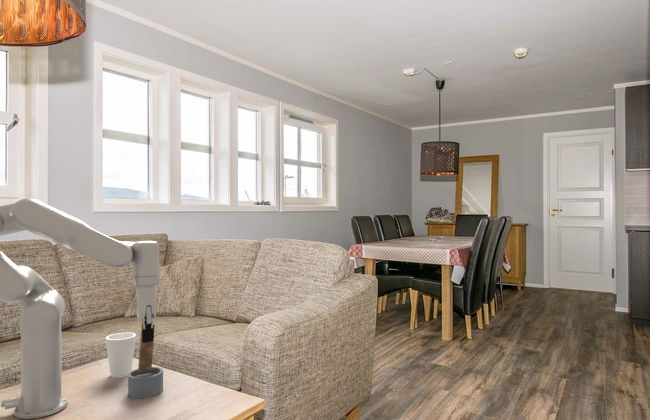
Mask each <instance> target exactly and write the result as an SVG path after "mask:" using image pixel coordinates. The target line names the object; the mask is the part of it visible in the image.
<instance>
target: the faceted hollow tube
mask: <svg viewBox="0 0 650 420" xmlns="http://www.w3.org/2000/svg"><path fill="white" fill-rule="evenodd" d="M155 372H156V373H157V374H156V375H153V376H149V377H133V376H136V375H143V374H149V373H155ZM163 391H164V370H163V368H162V367H159V366H152V370H150V371H140V372H139V370H138V368H136V369H132V370H131V372H130V373H128V376H127V396H128V398H132V399H133V400H134V399H135V400H136V399H137V400H138V399H140V400H142V399H149V398H152V397H156V396H158V395H160V394H161V393H162V392H163Z"/></svg>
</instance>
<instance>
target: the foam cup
mask: <svg viewBox="0 0 650 420" xmlns="http://www.w3.org/2000/svg"><path fill="white" fill-rule="evenodd" d="M136 342H137V334H136V333H134V332H117V333H112V334H110V335H107V336H105V347H106V352H107V360H108V367H109V373H110V377H111V378H115V379H118V378H125V377H128V373H130V372H131V371H132V370H133V369H132V368H133V362H134V356H135V347H136Z"/></svg>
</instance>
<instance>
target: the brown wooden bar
mask: <svg viewBox="0 0 650 420" xmlns="http://www.w3.org/2000/svg"><path fill="white" fill-rule="evenodd" d="M155 327H156V324H155V322H153V328H154V329H155ZM142 329H143V323H142V322H141V328H140V341H139V343H140V344H139V357H138V368H137V369H138V370H139V372H140V371H150V370H152V367H153V353H154V341H152V342H145V343H143V342H142Z"/></svg>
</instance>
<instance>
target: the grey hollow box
mask: <svg viewBox="0 0 650 420" xmlns="http://www.w3.org/2000/svg"><path fill="white" fill-rule="evenodd" d="M156 374H157V373H156V372H155V373H149V374H143V375H136V376H133V377H149V376H153V375H156Z"/></svg>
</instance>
